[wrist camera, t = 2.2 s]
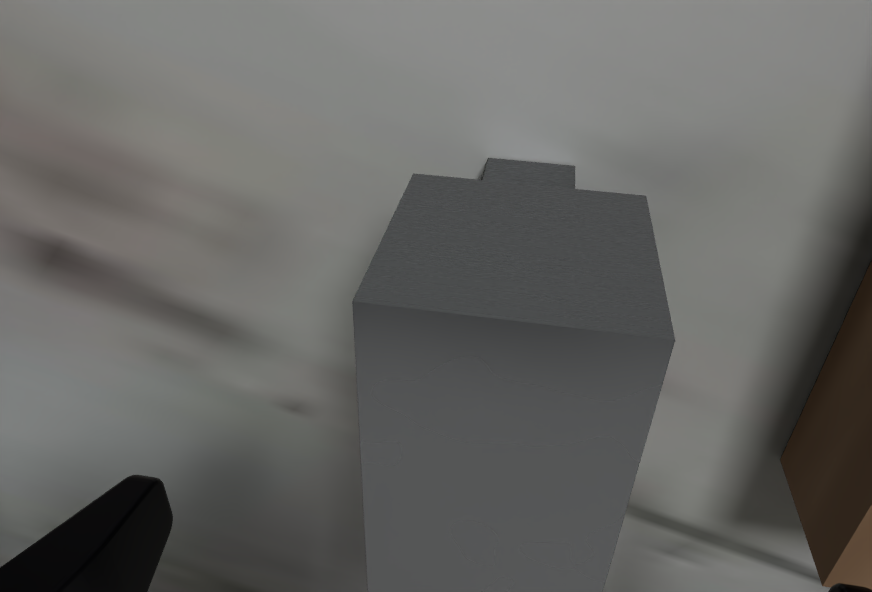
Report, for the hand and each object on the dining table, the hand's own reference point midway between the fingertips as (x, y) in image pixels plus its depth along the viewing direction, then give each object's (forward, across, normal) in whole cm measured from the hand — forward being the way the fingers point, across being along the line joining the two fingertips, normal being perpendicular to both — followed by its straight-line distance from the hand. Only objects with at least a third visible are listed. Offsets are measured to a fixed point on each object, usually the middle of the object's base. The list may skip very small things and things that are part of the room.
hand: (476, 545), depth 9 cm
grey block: (+6, 0, 0) cm, 6 cm away
